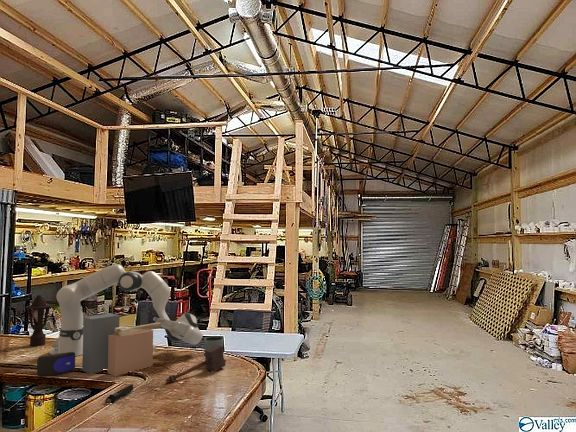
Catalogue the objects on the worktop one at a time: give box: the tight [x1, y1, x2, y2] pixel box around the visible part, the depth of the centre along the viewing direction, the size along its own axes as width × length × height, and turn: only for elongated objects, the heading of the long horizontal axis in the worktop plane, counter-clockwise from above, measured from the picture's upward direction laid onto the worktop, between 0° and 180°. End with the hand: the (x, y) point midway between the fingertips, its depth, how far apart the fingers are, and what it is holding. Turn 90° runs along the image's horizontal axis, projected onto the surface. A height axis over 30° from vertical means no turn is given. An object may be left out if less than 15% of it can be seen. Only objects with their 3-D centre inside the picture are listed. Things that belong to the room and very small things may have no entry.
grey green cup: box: [203, 335, 224, 361], centre depth 228 cm, size 10×10×12 cm
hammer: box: [164, 345, 227, 384], centre depth 205 cm, size 7×33×10 cm, turn 140°
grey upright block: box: [81, 312, 121, 375], centre depth 215 cm, size 9×14×26 cm, turn 140°
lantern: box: [25, 294, 53, 347], centre depth 263 cm, size 15×15×30 cm
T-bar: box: [115, 322, 162, 336], centre depth 218 cm, size 7×23×3 cm, turn 140°
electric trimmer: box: [104, 384, 134, 404], centre depth 177 cm, size 4×16×3 cm, turn 165°
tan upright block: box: [107, 329, 154, 377], centre depth 214 cm, size 7×20×18 cm, turn 140°
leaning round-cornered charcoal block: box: [36, 352, 76, 378], centre depth 207 cm, size 16×5×9 cm, turn 124°
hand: (159, 319), depth 226 cm, fingers open, 8 cm apart
